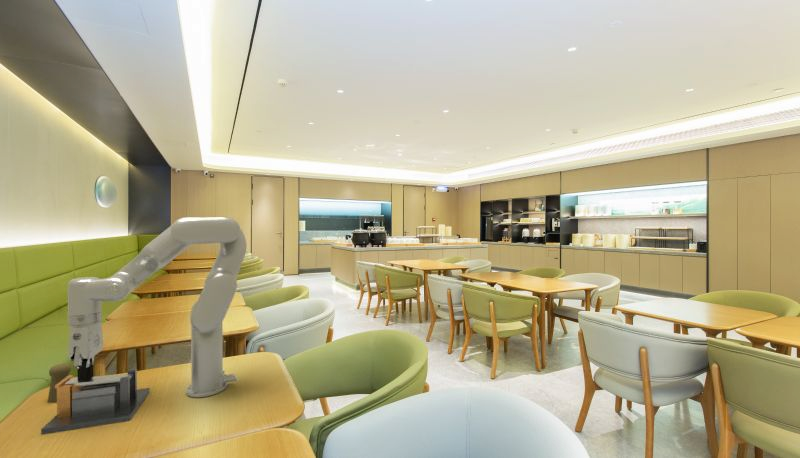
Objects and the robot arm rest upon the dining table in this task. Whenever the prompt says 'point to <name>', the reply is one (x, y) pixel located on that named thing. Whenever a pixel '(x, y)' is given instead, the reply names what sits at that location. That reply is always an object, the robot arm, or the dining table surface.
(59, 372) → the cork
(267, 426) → the dining table surface
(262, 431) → the dining table surface
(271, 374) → the dining table surface
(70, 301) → the robot arm
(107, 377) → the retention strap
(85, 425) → the heat sink base
